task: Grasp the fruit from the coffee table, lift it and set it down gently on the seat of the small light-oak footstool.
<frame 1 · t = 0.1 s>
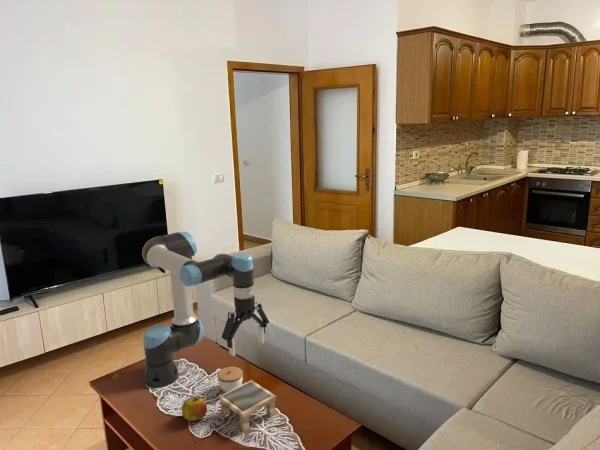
hand: (247, 348, 174), 28 cm above the table, fingers open, 13 cm apart
lidded jar: (231, 389, 197), on the table
fruit: (195, 418, 179), on the table
stool: (248, 414, 180), on the table
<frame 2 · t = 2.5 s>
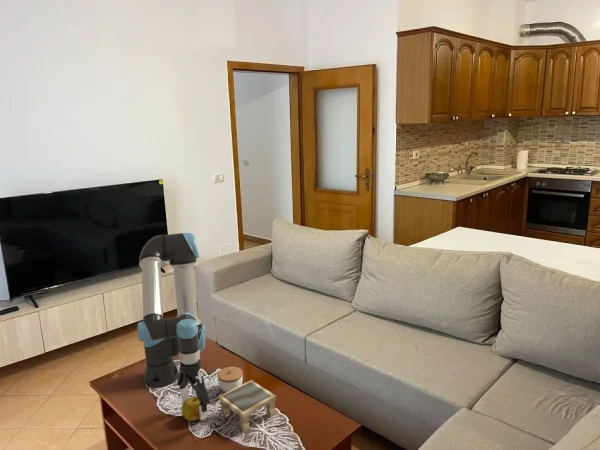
hand: (194, 410, 177), 3 cm above the table, fingers open, 13 cm apart
nothing on the table moved.
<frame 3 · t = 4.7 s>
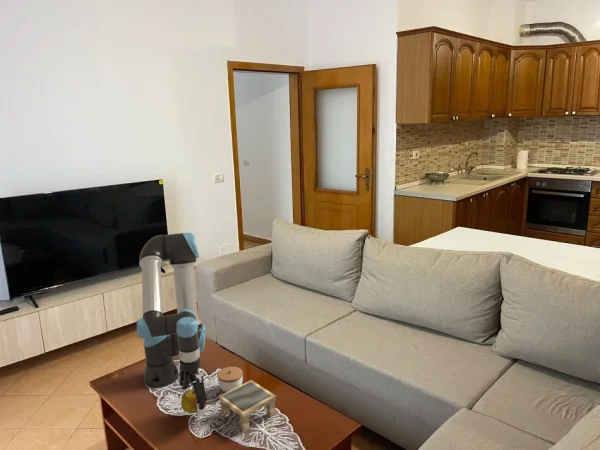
hand: (194, 409, 179), 3 cm above the table, fingers closed on fruit, 9 cm apart
fruit: (194, 410, 179), point 3 cm above the table, touching gripper
everything else where it was.
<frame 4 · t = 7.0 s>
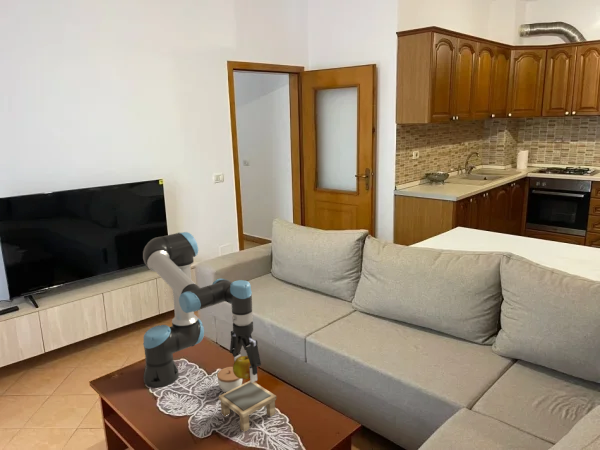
hand: (246, 376, 176), 17 cm above the table, fingers closed on fruit, 9 cm apart
fruit: (246, 377, 176), point 16 cm above the table, touching gripper
everything else where it was.
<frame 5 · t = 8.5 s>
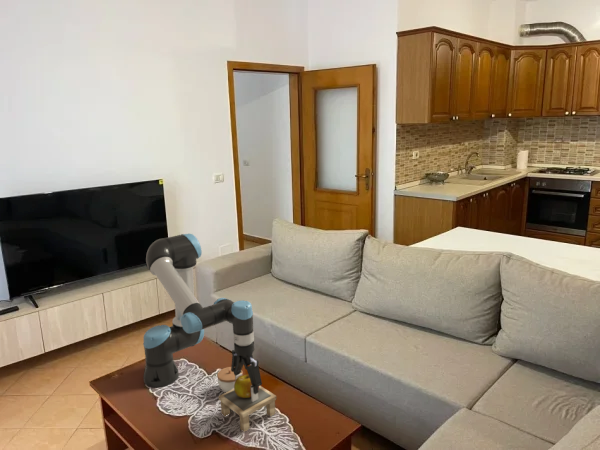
hand: (247, 394, 178), 9 cm above the table, fingers closed on fruit, 9 cm apart
fruit: (247, 395, 178), point 8 cm above the table, touching gripper, stool
everything else where it was.
when the fingers open (9 cm above the table, at t = 9.2 s): fruit stays where it is, resting on stool.
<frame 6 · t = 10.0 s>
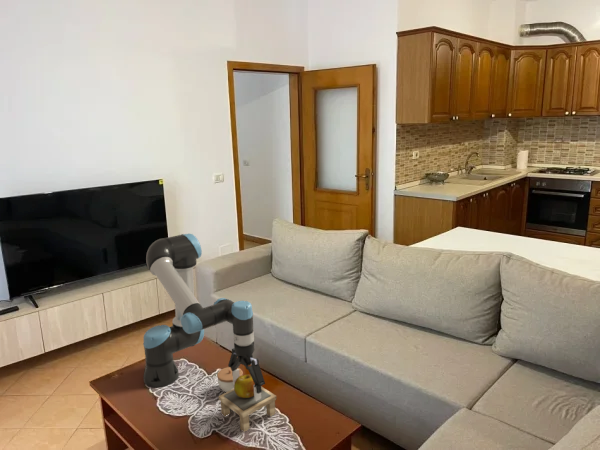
hand: (247, 392, 178), 10 cm above the table, fingers open, 13 cm apart
fruit: (247, 395, 178), point 8 cm above the table, touching stool
everything else where it was.
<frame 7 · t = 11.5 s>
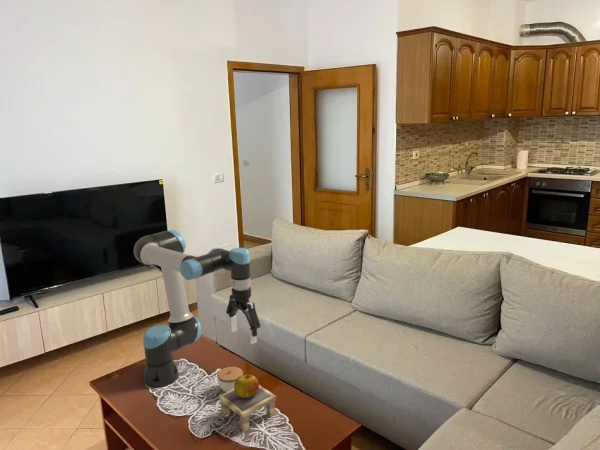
hand: (243, 337, 185), 27 cm above the table, fingers open, 13 cm apart
nothing on the table moved.
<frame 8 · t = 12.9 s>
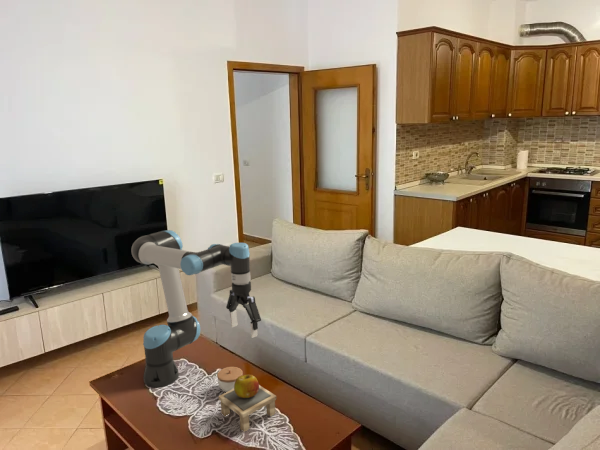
hand: (244, 331, 187), 29 cm above the table, fingers open, 13 cm apart
nothing on the table moved.
at the end: fruit inside the target area on the stool (0.0 cm from its centre), point 8.1 cm above the stool's base; the gripper is holding nothing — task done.
